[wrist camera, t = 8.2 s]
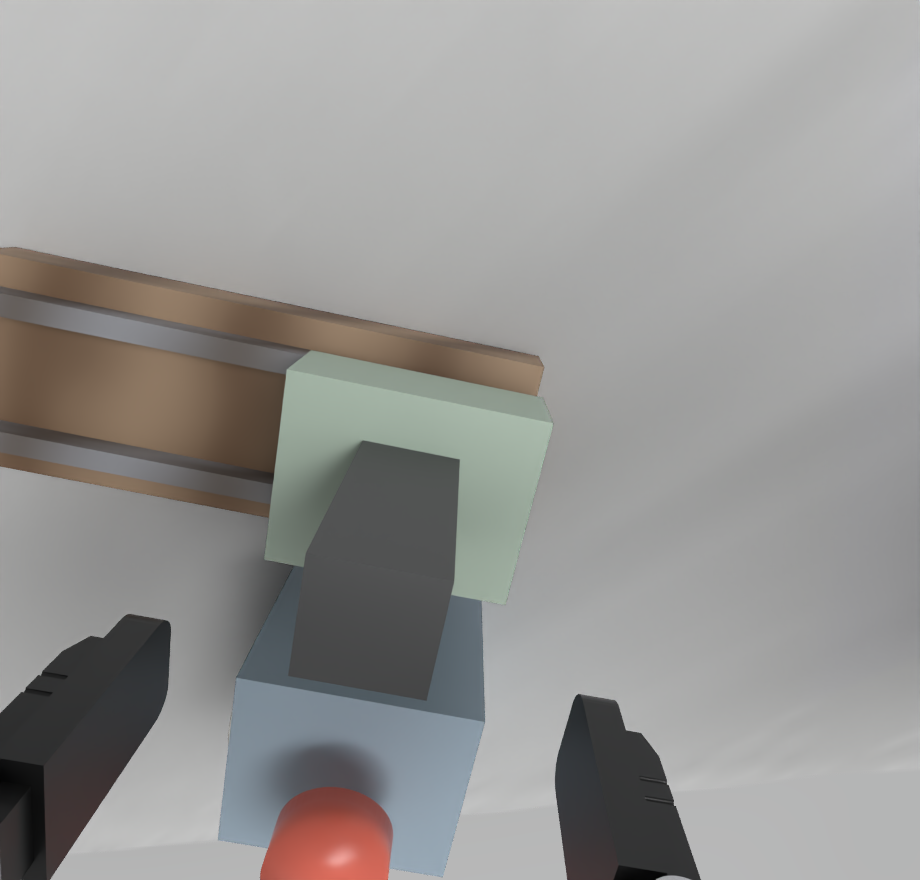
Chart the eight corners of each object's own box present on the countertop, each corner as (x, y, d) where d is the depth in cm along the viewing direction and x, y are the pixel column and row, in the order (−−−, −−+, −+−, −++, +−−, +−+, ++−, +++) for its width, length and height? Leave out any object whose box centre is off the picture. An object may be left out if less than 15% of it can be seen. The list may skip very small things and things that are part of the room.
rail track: (538, 356, 25) (547, 373, 22) (493, 537, 27) (496, 574, 24) (15, 247, 24) (-48, 250, 21) (18, 446, 26) (-37, 472, 23)
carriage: (542, 397, 22) (598, 529, 12) (501, 560, 24) (521, 780, 14) (311, 350, 21) (184, 449, 12) (289, 519, 23) (165, 719, 14)
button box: (481, 587, 28) (484, 722, 20) (449, 713, 30) (442, 877, 23) (288, 551, 28) (219, 674, 20) (270, 681, 30) (202, 837, 22)
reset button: (402, 798, 19) (396, 847, 18) (383, 882, 20) (375, 936, 19) (283, 777, 19) (267, 825, 17) (270, 864, 20) (253, 916, 19)
